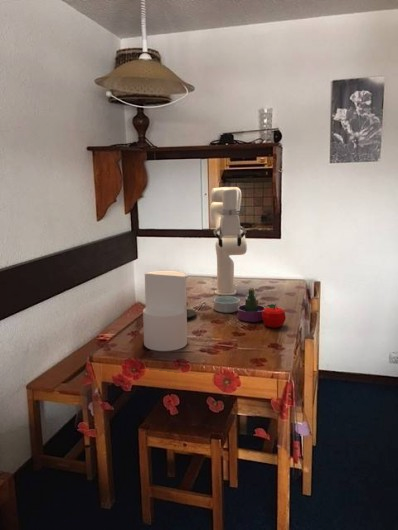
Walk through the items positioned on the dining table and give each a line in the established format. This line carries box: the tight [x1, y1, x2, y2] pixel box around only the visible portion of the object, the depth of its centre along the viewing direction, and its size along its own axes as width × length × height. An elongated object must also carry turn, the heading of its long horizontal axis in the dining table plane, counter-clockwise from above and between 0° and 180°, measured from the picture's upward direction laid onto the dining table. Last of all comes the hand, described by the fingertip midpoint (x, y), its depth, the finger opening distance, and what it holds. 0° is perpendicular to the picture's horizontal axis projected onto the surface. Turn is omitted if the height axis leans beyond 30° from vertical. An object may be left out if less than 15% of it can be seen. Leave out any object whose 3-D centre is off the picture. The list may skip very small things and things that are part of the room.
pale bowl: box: [213, 296, 241, 314], centre depth 229 cm, size 13×13×5 cm
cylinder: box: [142, 270, 188, 352], centre depth 181 cm, size 17×17×28 cm
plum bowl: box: [237, 304, 266, 323], centre depth 214 cm, size 13×13×5 cm
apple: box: [262, 303, 287, 329], centre depth 203 cm, size 11×11×10 cm
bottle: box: [244, 286, 259, 312], centre depth 213 cm, size 6×6×14 cm
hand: (229, 246), depth 235 cm, fingers open, 9 cm apart
